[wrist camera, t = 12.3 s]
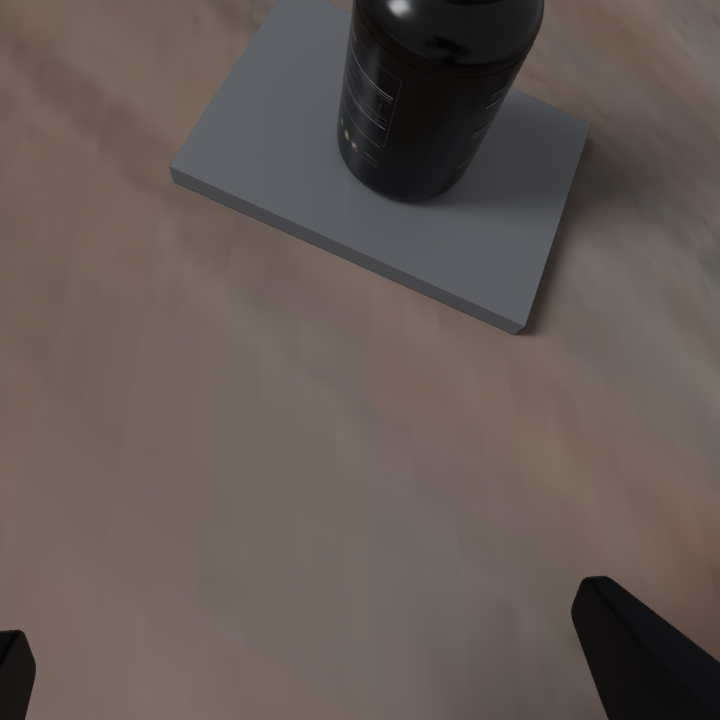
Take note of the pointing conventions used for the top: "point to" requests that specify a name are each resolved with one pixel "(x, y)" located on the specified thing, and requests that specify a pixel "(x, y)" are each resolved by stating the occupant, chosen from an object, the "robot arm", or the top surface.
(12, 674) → the robot arm
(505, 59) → the supplement bottle
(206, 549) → the top surface
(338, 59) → the board
